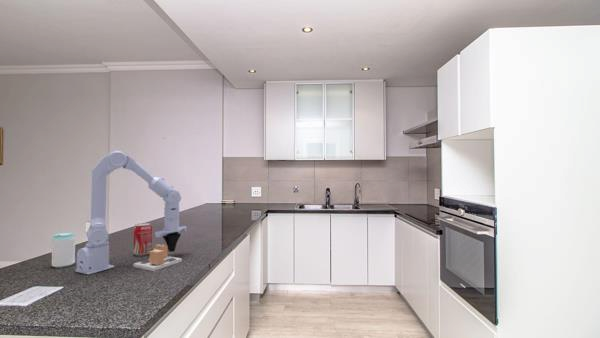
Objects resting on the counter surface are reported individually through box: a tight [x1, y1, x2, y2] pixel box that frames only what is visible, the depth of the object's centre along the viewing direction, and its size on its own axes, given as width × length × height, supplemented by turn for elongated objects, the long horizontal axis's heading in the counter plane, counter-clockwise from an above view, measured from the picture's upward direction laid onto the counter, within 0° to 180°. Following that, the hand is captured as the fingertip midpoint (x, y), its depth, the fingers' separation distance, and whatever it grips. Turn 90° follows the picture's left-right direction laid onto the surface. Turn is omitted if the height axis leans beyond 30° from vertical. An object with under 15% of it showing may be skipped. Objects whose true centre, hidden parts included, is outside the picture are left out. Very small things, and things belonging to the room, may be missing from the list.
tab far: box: [153, 243, 169, 257], centre depth 124 cm, size 3×4×5 cm
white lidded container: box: [51, 232, 76, 269], centre depth 118 cm, size 7×7×12 cm
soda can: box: [133, 222, 153, 257], centre depth 134 cm, size 7×7×13 cm
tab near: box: [149, 249, 164, 265], centre depth 116 cm, size 3×4×5 cm
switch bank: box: [133, 255, 183, 272], centre depth 120 cm, size 13×11×1 cm
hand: (171, 251), depth 129 cm, fingers closed
